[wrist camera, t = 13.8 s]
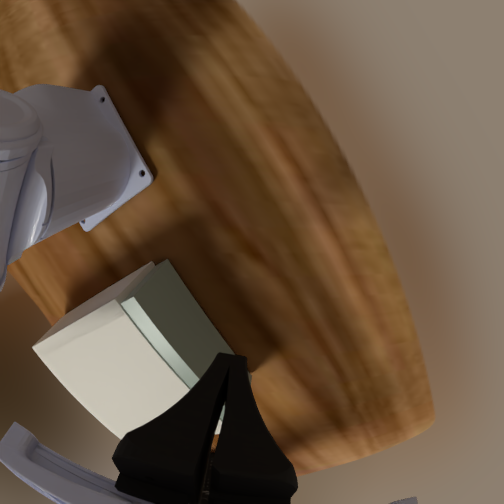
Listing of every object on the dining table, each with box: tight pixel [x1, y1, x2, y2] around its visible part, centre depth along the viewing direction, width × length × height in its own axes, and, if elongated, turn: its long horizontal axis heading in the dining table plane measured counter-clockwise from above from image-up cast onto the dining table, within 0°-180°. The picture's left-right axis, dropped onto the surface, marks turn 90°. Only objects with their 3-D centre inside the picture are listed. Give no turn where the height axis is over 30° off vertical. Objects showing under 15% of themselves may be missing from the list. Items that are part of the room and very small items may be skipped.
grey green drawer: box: [121, 259, 252, 420], centre depth 22 cm, size 13×13×6 cm
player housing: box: [32, 261, 223, 439], centre depth 22 cm, size 14×14×6 cm
